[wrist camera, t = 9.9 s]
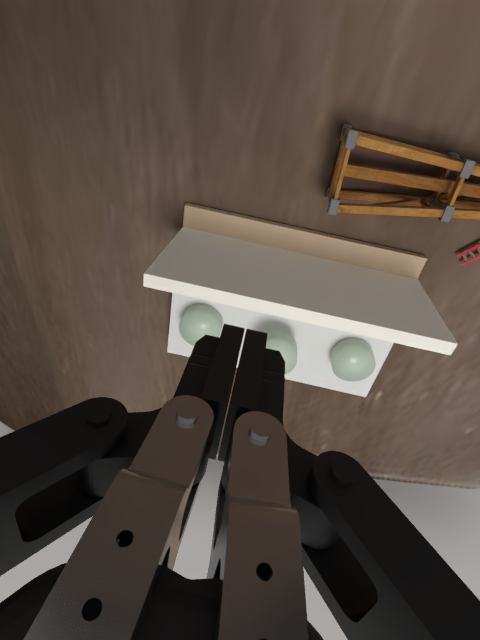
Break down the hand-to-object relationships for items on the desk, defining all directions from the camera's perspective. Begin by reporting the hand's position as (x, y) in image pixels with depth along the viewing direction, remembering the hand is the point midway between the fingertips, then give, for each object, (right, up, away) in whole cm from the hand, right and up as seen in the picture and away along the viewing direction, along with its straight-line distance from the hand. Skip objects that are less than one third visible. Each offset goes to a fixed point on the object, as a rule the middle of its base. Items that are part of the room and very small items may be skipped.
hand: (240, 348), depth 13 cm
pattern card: (+6, +8, +28) cm, 30 cm away
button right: (+13, -3, +31) cm, 34 cm away
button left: (-4, +1, +31) cm, 31 cm away
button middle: (+4, -2, +29) cm, 30 cm away
